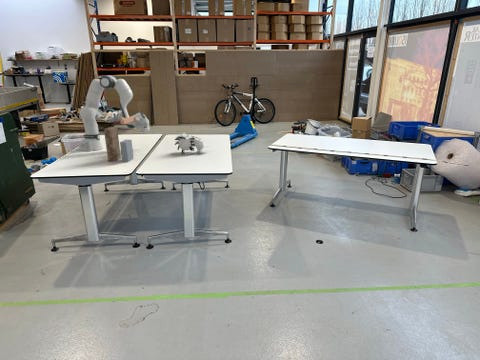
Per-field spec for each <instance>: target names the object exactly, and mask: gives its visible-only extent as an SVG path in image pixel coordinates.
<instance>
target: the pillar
mask: <svg viewBox="0 0 480 360" xmlns="http://www.w3.org/2000/svg"><path fill="white" fill-rule="evenodd" d="M118 131H119V129H118V127H117V126H108V127H106V128H104V129H103V134H104V139H105V147H106V148H105V149H106V154H107V155H106V156H107V161H108V162H117V161H119V160H120V159H121V160H122V155H121V147H120V140H119V133H118Z"/></svg>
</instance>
